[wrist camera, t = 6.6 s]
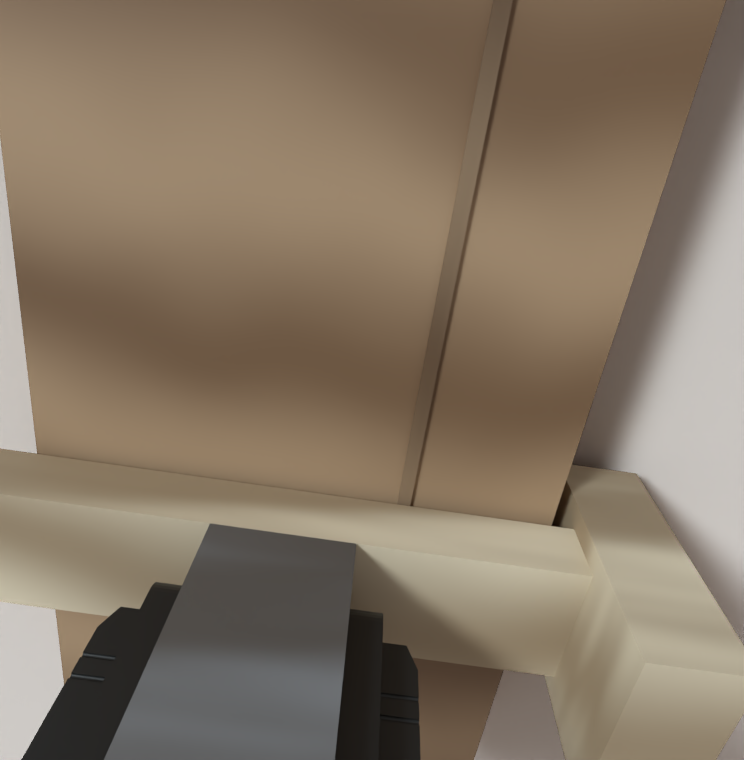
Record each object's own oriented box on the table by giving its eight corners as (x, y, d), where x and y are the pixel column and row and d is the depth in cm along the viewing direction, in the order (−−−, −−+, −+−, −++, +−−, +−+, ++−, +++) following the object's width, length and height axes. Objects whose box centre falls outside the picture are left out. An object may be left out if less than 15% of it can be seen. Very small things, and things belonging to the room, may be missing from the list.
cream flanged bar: (31, 387, 15) (-456, 770, 7) (636, 473, 15) (933, 949, 7) (46, 515, 17) (-325, 953, 8) (590, 591, 17) (782, 1090, 9)
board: (-3, -623, 9) (-118, -827, 7) (825, -479, 9) (942, -638, 7) (98, 660, 20) (66, 720, 18) (463, 709, 20) (470, 773, 18)
